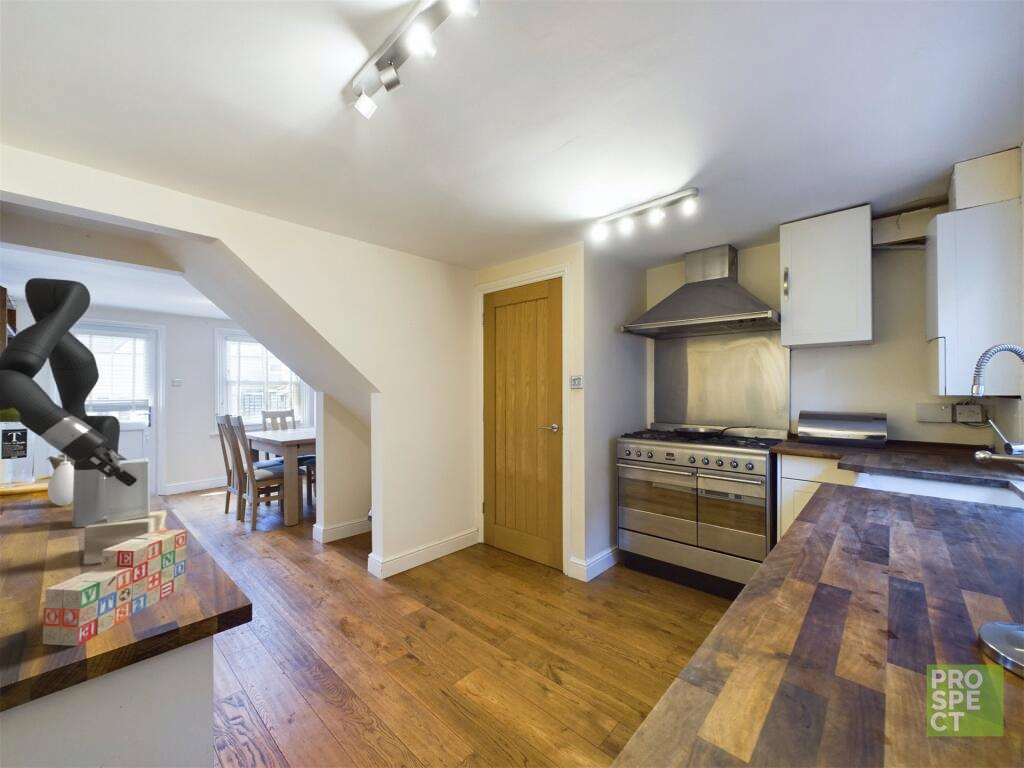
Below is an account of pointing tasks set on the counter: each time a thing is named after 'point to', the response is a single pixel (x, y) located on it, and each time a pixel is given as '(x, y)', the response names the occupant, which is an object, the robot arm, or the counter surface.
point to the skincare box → (129, 492)
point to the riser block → (119, 533)
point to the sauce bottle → (62, 484)
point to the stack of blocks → (115, 587)
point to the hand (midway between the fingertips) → (136, 480)
